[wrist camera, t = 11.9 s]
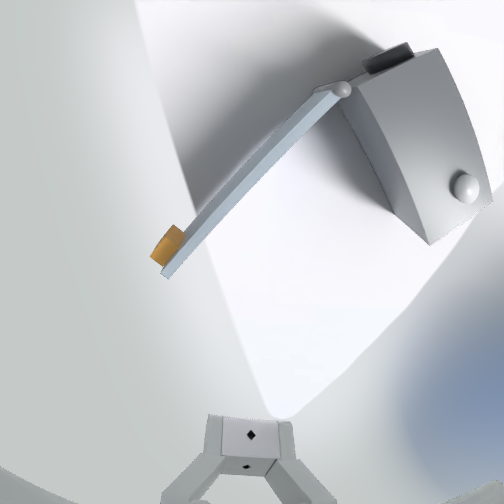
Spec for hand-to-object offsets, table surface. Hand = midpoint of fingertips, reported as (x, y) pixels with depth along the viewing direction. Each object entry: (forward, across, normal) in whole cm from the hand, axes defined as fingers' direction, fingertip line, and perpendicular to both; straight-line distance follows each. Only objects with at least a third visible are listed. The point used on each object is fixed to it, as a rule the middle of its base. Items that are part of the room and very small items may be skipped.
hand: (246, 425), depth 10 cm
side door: (+22, +1, -5) cm, 22 cm away
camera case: (+22, -13, -11) cm, 27 cm away
